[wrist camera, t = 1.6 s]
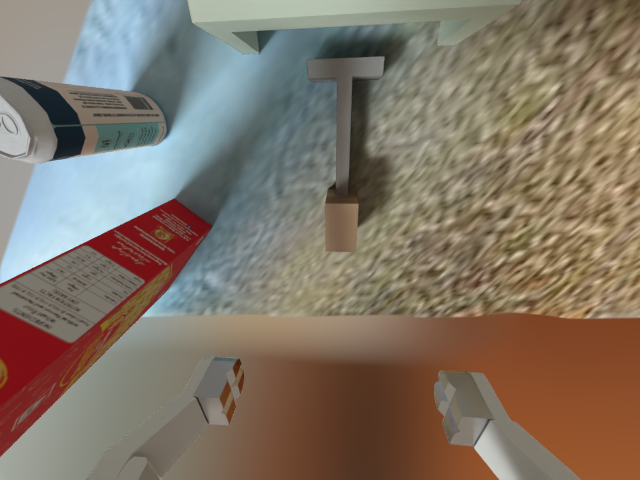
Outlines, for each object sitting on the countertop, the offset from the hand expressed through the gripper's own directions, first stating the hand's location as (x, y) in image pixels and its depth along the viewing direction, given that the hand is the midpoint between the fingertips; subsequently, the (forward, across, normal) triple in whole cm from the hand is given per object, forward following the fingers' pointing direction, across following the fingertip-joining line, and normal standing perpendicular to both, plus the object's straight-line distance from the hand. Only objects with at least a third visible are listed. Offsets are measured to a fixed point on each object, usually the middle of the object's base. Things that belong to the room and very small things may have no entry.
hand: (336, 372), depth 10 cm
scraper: (+19, 0, -5) cm, 20 cm away
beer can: (+20, +20, -9) cm, 29 cm away
